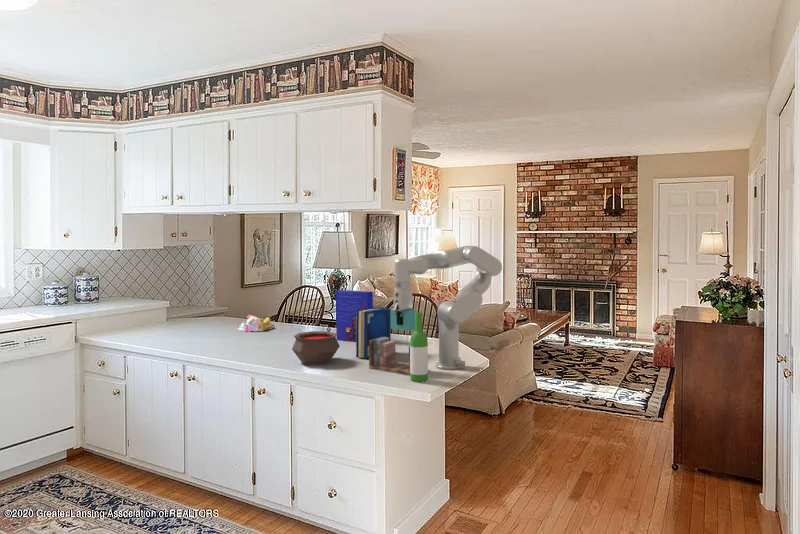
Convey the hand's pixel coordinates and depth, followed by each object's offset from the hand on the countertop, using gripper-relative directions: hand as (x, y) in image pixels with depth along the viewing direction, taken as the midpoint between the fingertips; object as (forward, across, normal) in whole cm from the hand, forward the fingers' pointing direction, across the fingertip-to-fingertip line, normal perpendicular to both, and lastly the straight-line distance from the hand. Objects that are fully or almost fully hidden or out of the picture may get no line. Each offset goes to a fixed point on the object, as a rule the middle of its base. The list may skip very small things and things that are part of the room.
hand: (403, 323), depth 265 cm
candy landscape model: (+23, +37, +145) cm, 151 cm away
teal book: (+2, 0, 0) cm, 2 cm away
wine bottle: (+22, -10, -16) cm, 29 cm away
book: (+22, +18, +31) cm, 42 cm away
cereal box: (+22, +42, +64) cm, 79 cm away
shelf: (+22, 0, +4) cm, 23 cm away
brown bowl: (+22, -10, +47) cm, 53 cm away
